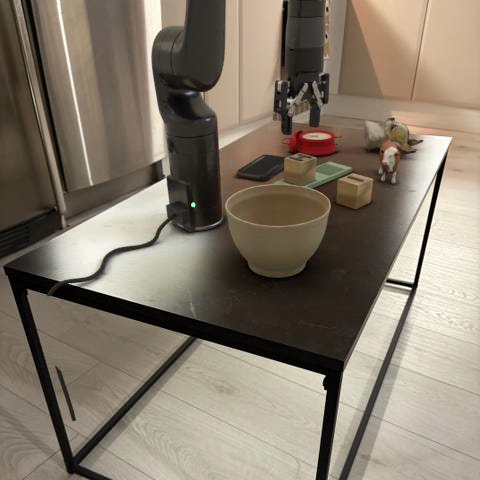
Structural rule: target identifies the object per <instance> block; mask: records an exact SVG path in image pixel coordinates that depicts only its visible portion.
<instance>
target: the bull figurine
mask: <svg viewBox="0 0 480 480" xmlns="http://www.w3.org/2000/svg"><path fill="white" fill-rule="evenodd" d="M400 159H401V155H400V153H399V151H398V149H397V147H396V145H395V144H394V143H393V142H392V141H390V140H387V141H386V142H384V143H383V144H382V145H381V148H379V162H380V163H379V164H380V165H379V166H380V167H379V170H378V173H377V174H378V175H381V178H380V182H385V181H386V173H387V172H388V173H391V175H392V177H391V181H390V183H391V184H397V181H396V175H397V170H398V165H399V164H400Z"/></svg>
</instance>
